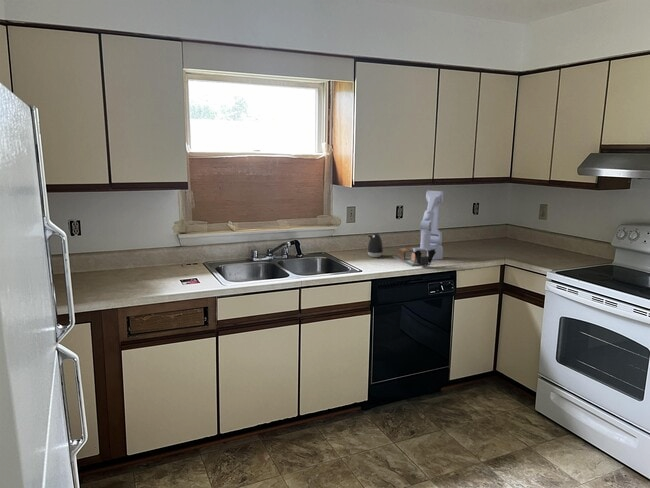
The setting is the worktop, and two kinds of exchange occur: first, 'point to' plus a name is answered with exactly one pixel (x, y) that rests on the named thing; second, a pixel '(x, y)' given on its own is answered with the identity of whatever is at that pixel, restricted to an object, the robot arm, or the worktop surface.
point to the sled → (421, 260)
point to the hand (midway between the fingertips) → (424, 262)
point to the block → (413, 257)
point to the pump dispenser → (375, 246)
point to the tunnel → (404, 252)
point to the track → (408, 260)
